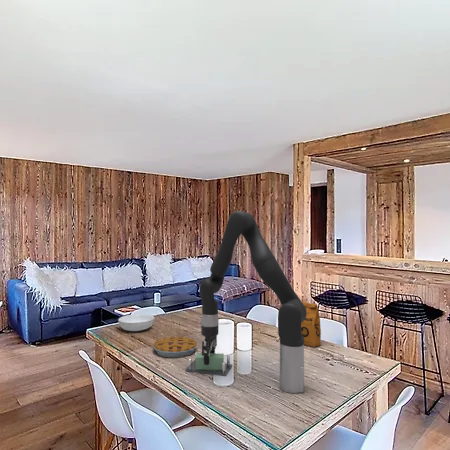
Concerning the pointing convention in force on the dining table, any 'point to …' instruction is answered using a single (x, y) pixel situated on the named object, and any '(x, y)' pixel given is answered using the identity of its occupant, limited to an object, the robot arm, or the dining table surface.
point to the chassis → (222, 372)
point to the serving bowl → (136, 322)
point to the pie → (175, 346)
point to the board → (210, 361)
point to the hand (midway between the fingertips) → (209, 360)
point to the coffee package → (311, 326)
